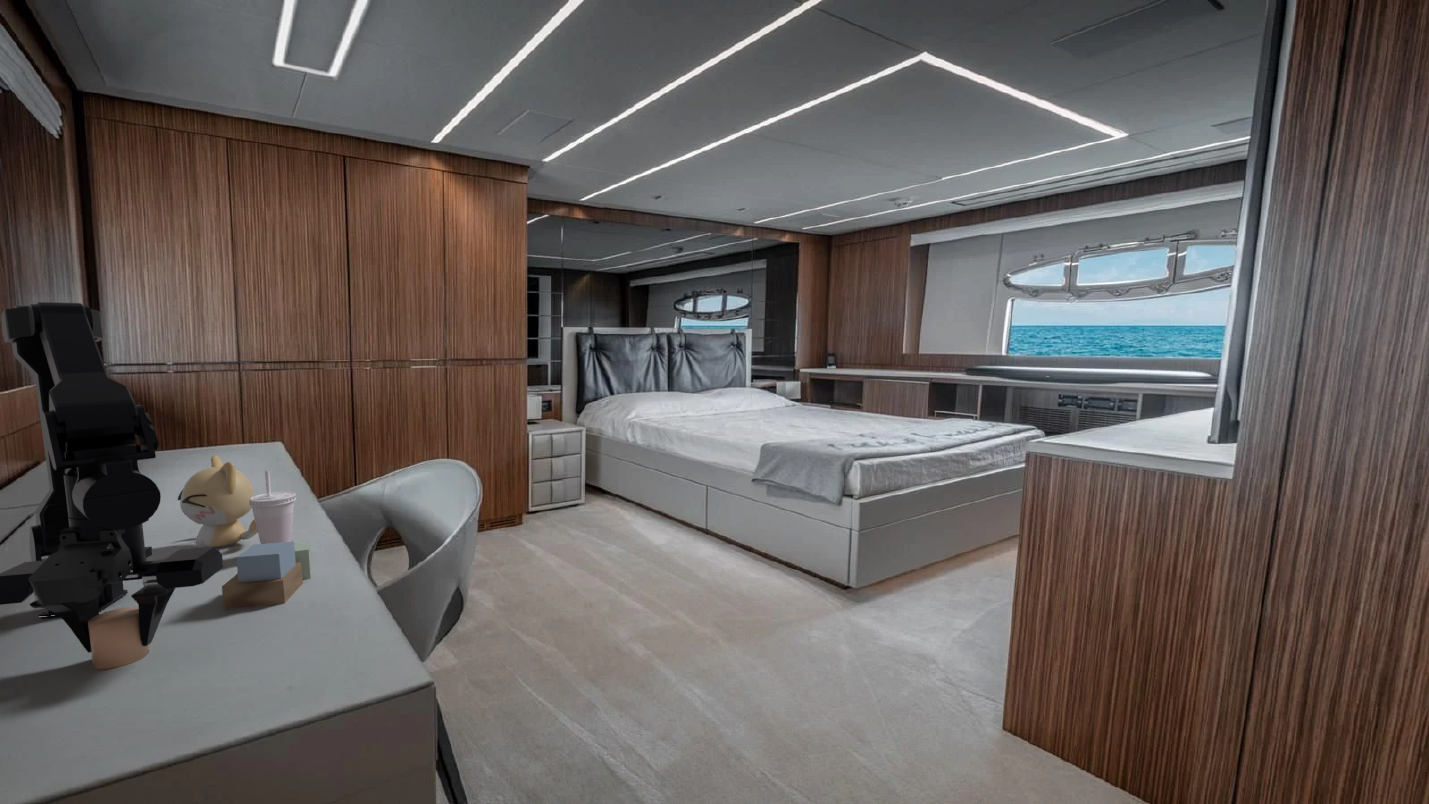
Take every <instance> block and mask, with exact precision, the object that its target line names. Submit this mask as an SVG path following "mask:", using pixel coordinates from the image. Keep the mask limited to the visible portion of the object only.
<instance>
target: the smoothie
mask: <svg viewBox="0 0 1429 804" xmlns="http://www.w3.org/2000/svg"><path fill="white" fill-rule="evenodd" d="M264 476H265V488H266V492H265V493H260V494H256V495H254V496H253V497H251V498H250V499H249V506H252V508H251V511H252V514H253V517H254V518H253V519H255V522H256V527H257V531H258V533H257V535H258V538H259V539H258V540H259V542H260V543H259V544H268V543H282V542H292V536H293V522H294V521H293V520H294V508H295V507H294V505H295V501H297V497H296V496H297V494H296V493H295V492H293V491H272V490H271V478H270V477H271V475H270V470H265V471H264Z"/></svg>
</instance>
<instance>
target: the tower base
mask: <svg viewBox="0 0 1429 804" xmlns="http://www.w3.org/2000/svg"><path fill="white" fill-rule="evenodd" d="M303 584H304V582H303V580H302V568H301V562H299V563H296V566H295V567H293V568H292V569H291V570H290V571H289V572H288V573H287V574H286V575H285V576H284V577H283V578H281V579H273V580H261V581H250V582H239V581H238V573H237V574H235V575H234V576H232V577H231V578H230V579H229V580H228V581H226V582H225V583H224V584H223V585H222V586H221V590H222V591H221V593H222V601H223V602H222V603H223V610H234V609H244V608H251V607H252V608H253V607H262V606H263V607H264V606H272V605H280V604H281V605H282V604H286V603H287V602H288V601H289V600H290V598H291V597H292V596H293V595H294V594H295V593H296V592H297V591H298V590H299V588H301V586H302V585H303Z"/></svg>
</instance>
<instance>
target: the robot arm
mask: <svg viewBox="0 0 1429 804" xmlns="http://www.w3.org/2000/svg"><path fill="white" fill-rule="evenodd" d="M0 317H1V319H0V320H1V329H2V335H3V341H4V342H5V343H8V344H9V343H11V345H12V346H11V347H12V352H13V356H14V358H15V359H16V360H17V361H18V362H19V364H21V365H22V366H23V367H25V369H27V371H29V373H31V374H32V375H33V377H34V381H35V382H34V383H35V389H36V396H37V403H38V404H37V405H38V410H39V411H38V412H39V418H40V425H41V433H42V441H43V449H44V454H45V462H46V463H45V464H46V469H47V470H46V471H47V479H48V484H49V485H48V486H49V490H48V491H47V493H46V494H45V496H44V497H43V499H42V500H41V502H40V504H39V505H38V507H37V508H36V510H35V511H34V514H35V523H36V525H31V526H30V527H29V555H30V561H24V562H22V563H19V564H18V565H15V566H13V567H11V568H8V569H7V570H5V571H3V572H1V573H0V606H2V605H9V604H10V605H12V604H13V605H14V604H21V603H23V602H25V601H26V600H28V599H29V598H30V596H31V595H32V594H33V595H34V601H32V602H30V603H29V606H30V607H31V608H33V609H44V610H42V611H40V612H39V613H38V615H37V616H51V615H59V616H58V617H60V618H61V619H62V620H63V622H64V623H65V624H66V625H67V627H69V629H70V630H71V631H72V633H73V634H74V636H75V637H76V638H77V640H78V641H79V642H80V644H81V646H82V647H83V648H84V649H85V650H86V652H87V653H91V645H90V636H89V627H88V621H89V620H90V619H91V618H93V617H95V616H97V615H99V614H100V612H101V611H103V610H104V609H106V608H107V607H109V606H110V605H112V604H114V603H115V602H117V601H118V600H120V599H121V598H123V597H124V596H126V595H127V594H128V589H125V588H124V582H127V581H137V580H142V583H143V587H142V588H140V589H138V590H137V591H136V592H134V593H132V594H131V598H132V599H133V600H134V601H135V602H136V603H137V605H138V607H139V624H140V637H141V641H142V645H143V646H149V645H150V644H151V643H153V640H154V637H155V634H156V632H157V630H158V627H159V626H160V625H159V624H160V622H161V619H162V617H163V615H164V612H165V610H166V608H167V605H168V603H169V601H170V599H171V597H172V595H173V593H174V592H175V590H176V588H188V587H195V586H198V585H203V584H204V583H205V582H207V581H208V580H209V579H211V578H212V577H213V576H215V574H217V573H219V572H220V571H221V570H223V568H224V562H223V553H221V551H220V550H219V549H218V548H217V547H203V548H197V547H193V548H182V549H181V548H180V549H178V550H177V551H175V552H174V553H172V554H170V555H169V556H168V557H166V558H164V559H159V560H147V558H150V557H152V556H153V548H152V546H146V545H145V538H144V537H145V536H144V528H143V525H144V524H145V523H146V522H148V521H150V518H151V517H153V516H154V515H155V513H156V512H157V511H158V510H159V508H160V507H159V506H160V504H161V496H162V495H161V490H160V488H159V487H158V485H157V484H156V482H154V481H153V480H152V479H151V478H149V477H148V476H146V475H145V474H143V473H141V472H140V469H139V464H138V461H142V460H143V461H144V460H151V459H156V457H157V455H156V451H157V450H158V449H159V443H160V442H159V439H158V436H157V433H156V431H155V428H154V425H153V421H152V419H151V416H150V414H149V413H148V412H145V408H144V406H143V405H142V404H136V402H135V399H134V397H133V395H132V392H131V391H130V389H129V387H127V385H124V384H122V383H120V382H118V381H116V380H113V379H111V378H110V376H109V374H108V371H107V369H106V366H105V364H104V360H103V358H102V354H101V352H100V349H99V346H98V344H97V343H98V342H100V341H102V340H103V339H104V333H103V327H102V318H101V317H102V316H101V311H99V310H97V309H93V308H91V307H90V305H88V304H87V305H85V304H83V303H81V302H57V301H56V302H55V301H53V302H52V301H49V302H48V301H38V302H36V303H35V304H34V303H29V305H14V308H13V307H12V308H7V309H4V310H3V311H2V312H1V316H0ZM136 437H137V440H138V443H139V444H137V442H136ZM43 557H46V558H43Z"/></svg>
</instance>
